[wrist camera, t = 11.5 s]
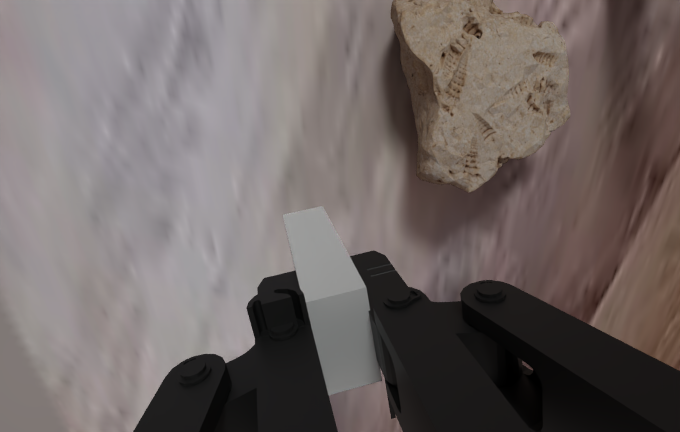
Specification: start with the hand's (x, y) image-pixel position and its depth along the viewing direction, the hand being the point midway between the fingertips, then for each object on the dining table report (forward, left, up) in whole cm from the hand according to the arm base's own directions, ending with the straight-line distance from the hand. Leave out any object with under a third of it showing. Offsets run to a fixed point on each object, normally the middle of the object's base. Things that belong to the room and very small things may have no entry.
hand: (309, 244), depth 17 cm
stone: (0, +12, -11) cm, 16 cm away
